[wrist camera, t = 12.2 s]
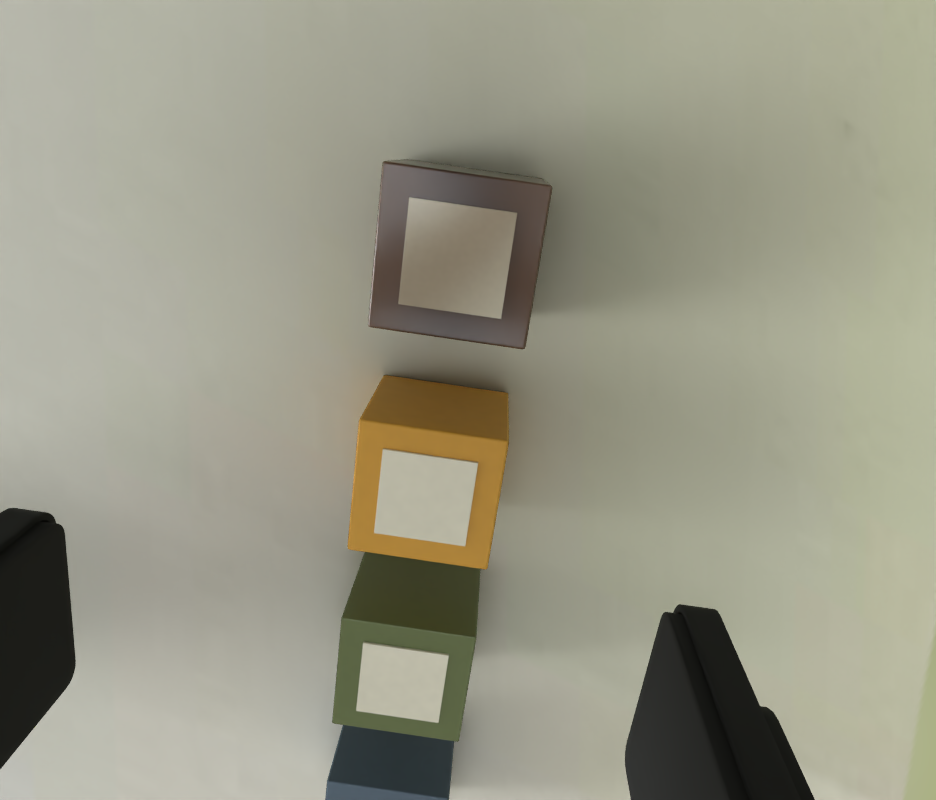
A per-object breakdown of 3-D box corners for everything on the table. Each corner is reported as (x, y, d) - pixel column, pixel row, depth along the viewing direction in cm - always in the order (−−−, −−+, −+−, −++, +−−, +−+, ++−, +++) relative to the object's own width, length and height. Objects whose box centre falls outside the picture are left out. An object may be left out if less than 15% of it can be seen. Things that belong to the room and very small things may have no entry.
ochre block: (508, 392, 28) (509, 442, 23) (490, 504, 29) (487, 572, 25) (383, 373, 28) (357, 420, 23) (372, 486, 30) (346, 551, 25)
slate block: (457, 707, 33) (448, 801, 28) (443, 786, 35) (434, 888, 30) (352, 692, 33) (326, 783, 28) (344, 772, 35) (318, 871, 30)
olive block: (481, 562, 30) (476, 639, 26) (465, 655, 32) (458, 744, 27) (366, 545, 30) (340, 619, 26) (357, 639, 32) (331, 725, 27)
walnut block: (544, 179, 25) (553, 185, 20) (521, 315, 27) (525, 351, 22) (405, 158, 25) (381, 160, 20) (391, 296, 27) (366, 328, 22)
